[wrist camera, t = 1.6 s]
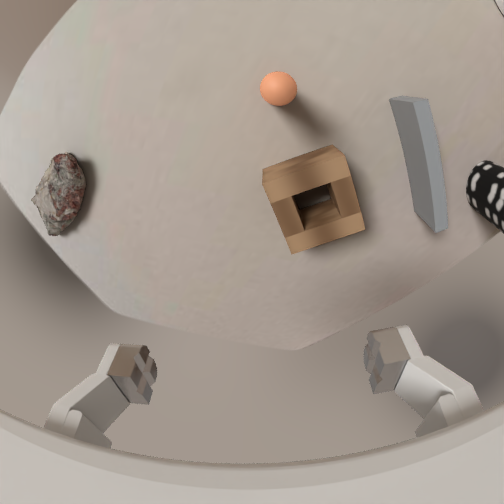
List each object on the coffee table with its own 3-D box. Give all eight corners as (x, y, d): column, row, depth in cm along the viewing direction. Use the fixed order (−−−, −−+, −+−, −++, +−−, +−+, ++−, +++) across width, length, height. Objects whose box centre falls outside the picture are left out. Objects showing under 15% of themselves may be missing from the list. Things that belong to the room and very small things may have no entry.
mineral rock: (64, 237, 41) (50, 250, 37) (35, 205, 38) (19, 216, 34) (108, 177, 36) (92, 188, 32) (74, 140, 33) (55, 147, 29)
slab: (402, 95, 28) (427, 99, 22) (426, 207, 35) (448, 228, 30) (388, 98, 29) (412, 102, 23) (414, 211, 36) (435, 233, 30)
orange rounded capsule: (282, 74, 28) (288, 66, 20) (291, 97, 30) (302, 98, 21) (257, 83, 29) (254, 79, 20) (267, 106, 30) (268, 110, 22)
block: (332, 144, 32) (344, 155, 27) (352, 208, 36) (365, 229, 31) (262, 169, 34) (262, 184, 29) (288, 230, 39) (291, 254, 33)
